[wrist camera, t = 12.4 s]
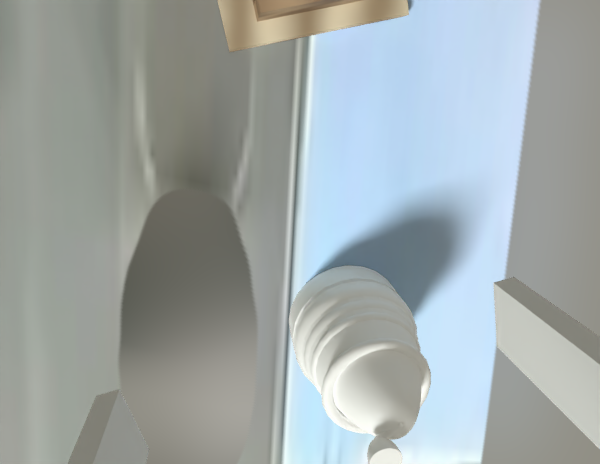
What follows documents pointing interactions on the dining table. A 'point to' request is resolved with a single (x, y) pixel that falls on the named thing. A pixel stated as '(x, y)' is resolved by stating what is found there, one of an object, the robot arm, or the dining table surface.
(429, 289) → the dining table surface
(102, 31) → the dining table surface
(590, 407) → the robot arm
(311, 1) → the square wooden frame
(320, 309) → the honey pot
